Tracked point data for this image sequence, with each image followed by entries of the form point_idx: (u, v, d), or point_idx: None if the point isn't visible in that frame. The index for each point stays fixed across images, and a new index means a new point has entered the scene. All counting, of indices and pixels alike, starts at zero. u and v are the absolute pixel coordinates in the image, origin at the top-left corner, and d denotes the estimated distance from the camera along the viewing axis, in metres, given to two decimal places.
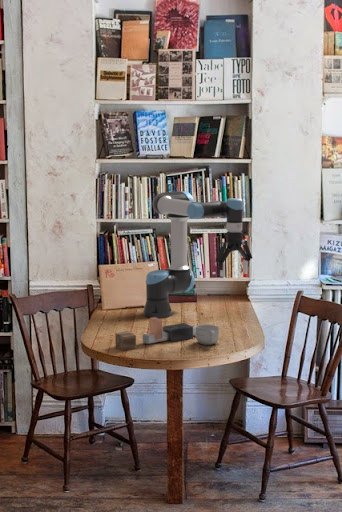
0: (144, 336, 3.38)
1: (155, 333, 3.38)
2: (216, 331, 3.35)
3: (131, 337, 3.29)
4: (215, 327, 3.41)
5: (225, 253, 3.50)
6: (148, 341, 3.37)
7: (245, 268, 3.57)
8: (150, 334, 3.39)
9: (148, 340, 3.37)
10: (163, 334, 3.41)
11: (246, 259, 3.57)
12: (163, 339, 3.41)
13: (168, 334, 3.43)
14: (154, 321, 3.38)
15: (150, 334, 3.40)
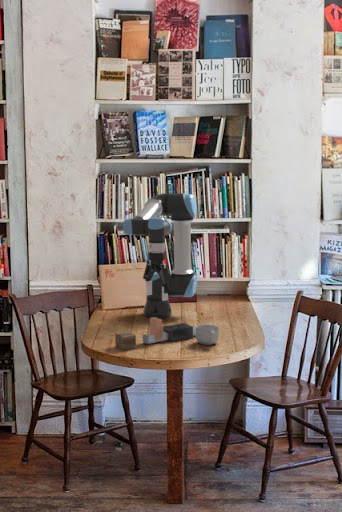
0: (144, 336, 3.38)
1: (155, 333, 3.38)
2: (216, 331, 3.35)
3: (131, 337, 3.29)
4: (215, 327, 3.41)
5: None
6: (148, 341, 3.37)
7: None
8: (150, 334, 3.39)
9: (148, 340, 3.37)
10: (163, 334, 3.41)
11: None
12: (163, 339, 3.41)
13: (168, 334, 3.43)
14: (154, 321, 3.38)
15: (150, 334, 3.40)
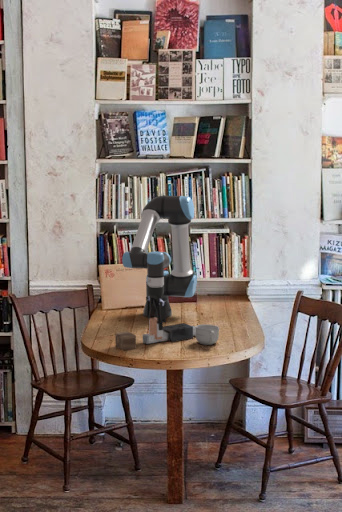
0: (144, 336, 3.38)
1: (155, 333, 3.38)
2: (216, 331, 3.35)
3: (131, 337, 3.29)
4: (215, 327, 3.41)
5: None
6: (148, 341, 3.37)
7: None
8: (150, 334, 3.39)
9: (148, 340, 3.37)
10: (163, 334, 3.41)
11: None
12: (163, 339, 3.41)
13: (168, 334, 3.43)
14: (154, 321, 3.38)
15: (150, 334, 3.40)
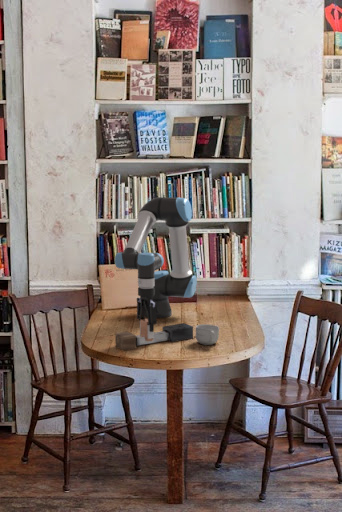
0: None
1: (146, 335, 3.36)
2: (216, 331, 3.35)
3: (131, 337, 3.29)
4: (215, 327, 3.41)
5: None
6: (139, 343, 3.35)
7: None
8: (141, 336, 3.37)
9: (138, 342, 3.34)
10: (154, 336, 3.38)
11: None
12: (154, 341, 3.39)
13: (159, 336, 3.40)
14: (145, 323, 3.35)
15: (141, 335, 3.37)
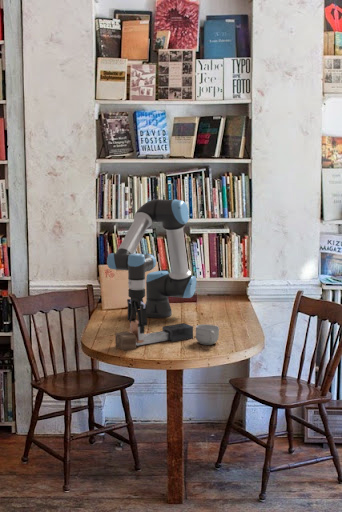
0: None
1: (136, 336, 3.33)
2: (216, 331, 3.35)
3: (131, 337, 3.29)
4: (215, 327, 3.41)
5: None
6: None
7: None
8: None
9: None
10: (144, 337, 3.36)
11: None
12: (145, 342, 3.36)
13: (150, 337, 3.37)
14: (135, 324, 3.33)
15: None
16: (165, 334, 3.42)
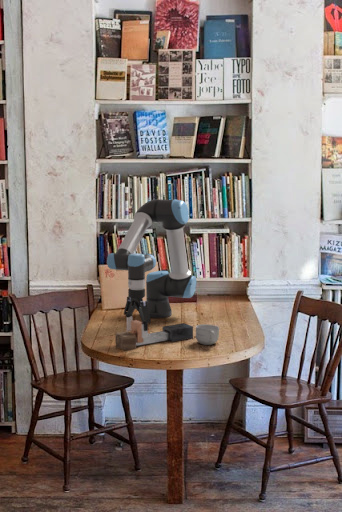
0: None
1: (136, 336, 3.33)
2: (216, 331, 3.35)
3: (131, 337, 3.29)
4: (215, 327, 3.41)
5: None
6: None
7: None
8: None
9: None
10: None
11: None
12: (144, 342, 3.36)
13: (150, 337, 3.37)
14: (135, 324, 3.33)
15: None
16: (165, 334, 3.42)
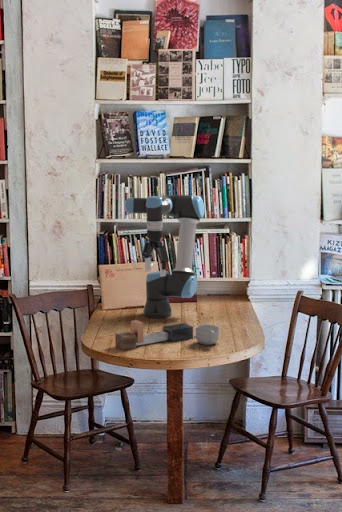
0: None
1: (136, 336, 3.33)
2: (216, 331, 3.35)
3: (131, 337, 3.29)
4: (215, 327, 3.41)
5: None
6: None
7: None
8: None
9: None
10: (144, 337, 3.36)
11: None
12: (144, 342, 3.36)
13: (150, 337, 3.37)
14: (135, 324, 3.33)
15: None
16: (165, 334, 3.42)
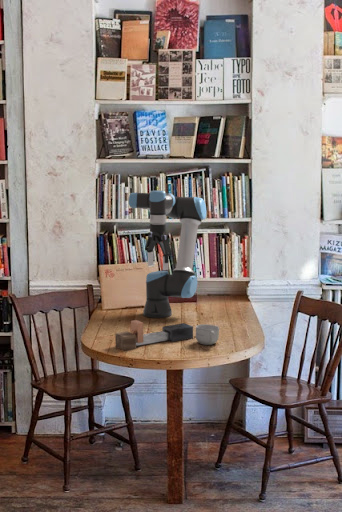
0: None
1: (136, 336, 3.33)
2: (216, 331, 3.35)
3: (131, 337, 3.29)
4: (215, 327, 3.41)
5: None
6: None
7: None
8: None
9: None
10: (144, 337, 3.36)
11: None
12: (144, 342, 3.36)
13: (150, 337, 3.37)
14: (135, 324, 3.33)
15: None
16: (165, 334, 3.42)
